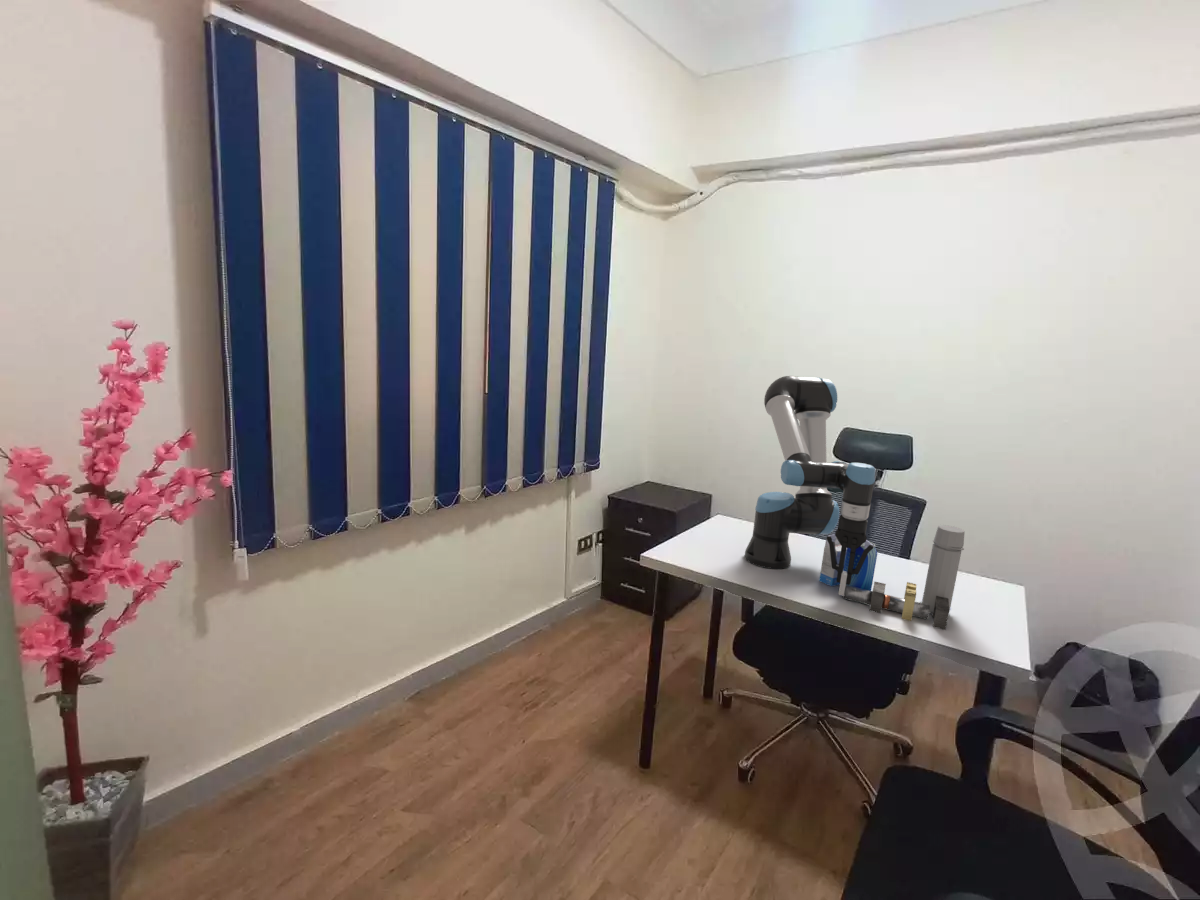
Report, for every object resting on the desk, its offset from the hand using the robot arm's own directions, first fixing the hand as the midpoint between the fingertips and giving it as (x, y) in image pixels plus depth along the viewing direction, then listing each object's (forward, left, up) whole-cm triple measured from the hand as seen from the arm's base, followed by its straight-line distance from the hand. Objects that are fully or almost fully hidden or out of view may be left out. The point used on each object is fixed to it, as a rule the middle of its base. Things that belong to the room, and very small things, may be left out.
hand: (841, 593), depth 176 cm
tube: (+12, 0, -2) cm, 12 cm away
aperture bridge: (+17, 0, -2) cm, 18 cm away
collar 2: (+25, 0, -2) cm, 26 cm away
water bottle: (+25, +9, -2) cm, 27 cm away
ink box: (-4, +12, -2) cm, 13 cm away
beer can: (+3, +7, -2) cm, 8 cm away
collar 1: (+9, 0, -2) cm, 10 cm away
